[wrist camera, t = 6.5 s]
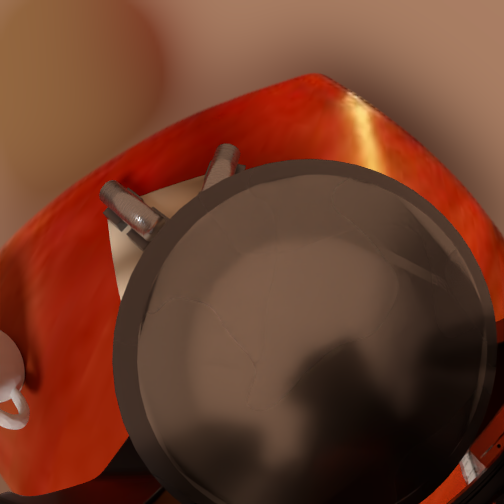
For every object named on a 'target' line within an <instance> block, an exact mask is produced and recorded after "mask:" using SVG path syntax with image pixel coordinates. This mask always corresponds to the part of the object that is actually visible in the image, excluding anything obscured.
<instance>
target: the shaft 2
mask: <svg viewBox="0 0 504 504" xmlns="http://www.w3.org/2000/svg"><path fill="white" fill-rule="evenodd" d="M239 158H240V151H239V149H238V148H237V147H235V146H234V145H231V144H221V145H219V146H218V147H217V149H216V152H215V154H214V157H213V160H212V161H210V163H209V166H208V169H207V171H206V174H205V177H204V184H203V187H202V189H201V191H199V193H198V194H200V193H201V192H203V191H204V190H206V189H208V188H209V187H211V186H213V185H214V184H216V183H218V182H220V181H221V180H223V179H226V178H228V177H230V176H232V175H235V174H237V173H240V172H242V171H244V170H246V165H240V164H238V161H239Z"/></svg>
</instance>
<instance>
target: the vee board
mask: <svg viewBox="0 0 504 504" xmlns="http://www.w3.org/2000/svg"><path fill="white" fill-rule="evenodd" d="M204 177H205V175H203V176H199V177H196V178H193V179H190V180H186V181H183V182H180V183H177V184H174V185H171V186H168V187H165V188H162V189H159V190H157V191H154V192H151V193H148V194H145V195H143V196H140V197H141V198H142V199H143V201H144V203H146V204H147V205H148V206H149V207H151V208H152V207H154V208H156V209H157V210H158V211H160V212H161V213H162V214H164V215H165V216H166V217H168V218H169V219H170V218H171V217H172V216H173V215H174V214H175V213H176V212H177V211H178V210H179V209H180V208H182V207H183V206H184V205H185V204H187V203H188V202H189V201H191V200H192V199H193V198H194V197H196V196H197V195H198V193H199V191H201V189H202V187H203V184H204ZM108 227H109V235H110V243H111V250H112V256H113V262H114V268H115V274H116V279H117V284H118V289H119V294H120V299H121V300H122V297H123V294H124V292H125V289H126V286H127V284H128V281H129V279H130V276H131V274H132V272H133V270H134V268H135V266H136V265H137V263H138V261H139V259H140V257H141V256H142V254H143V251H142V250H141V249H140V248H138V247H137V246H136V245H135V244H134V243H133V242H132V241H131V240H130V239H129V237H128V236H127V235H126V234H127V233H128V232H129V231H130V230H131V227H130V226H129V225H128V226H127V227H126V228H125V229H124V230H123V231H122V232H121V231H120V230H118V229H117V228H116V227H115V226H114V225H113V224H112V223H111V222H110V221H109V220H108Z"/></svg>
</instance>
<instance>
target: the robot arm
mask: <svg viewBox="0 0 504 504" xmlns="http://www.w3.org/2000/svg"><path fill="white" fill-rule="evenodd" d="M496 330H497V363H496V373H495V379H494V385H493V390H492V394H491V398H490V401H489V404H488V408H487V411H486V414H485V417H484V419H483V421H482V424H481V426H480V428H479V430H478V432H477V435H476V437H475V439H474V440H473V442H472V444H471V445H470V447H469V449H468V450H467V452H466V454H467V453H468V452H469V451H471V453H472V454H473V455H474V456H475V457H476V458H477V459H478V460H479V462H480V463H482V464H483V465H484V466H485V467H486V468H485V469H484V470H483V471H482V472H481V473H480V474H479V475H478V476H477V477H476V478H475V479H474V480H473V481H472V482H471V483H469V484H468V485H467V486H466V487H465V488H464V489H463V490H462V491H461V492H460V493H458V494H457V495H456V496H455V497H454V498H453V499H451V500H450V501H449V502H448V503H447V504H504V319H502V320H500V321H497V322H496ZM466 454H465V455H466ZM465 455H464V456H465ZM0 504H181V503H180V502H179V501H177V500H176V499H175V498H174V497H173V496H172V495H171V494H170V493H169V492H168V491H167V490H166V489H165V488H164V487H163V486H162V485H161V484H160V483H159V482H158V481H157V479H156V478H155V477H154V476H153V475H152V474H151V472H150V471H149V469H148V468H147V466H146V465H145V463H144V462H143V460H142V459H141V457H140V456H139V454H138V453H137V451H136V449H135V447H134V445H133V443H132V441H131V439H130V436H129V437H128V438H127V440H126V441H125V443H124V444H123V445H122V447H121V448H120V449H119V451H118V452H117V453H116V455H115V456H114V457H113V459H112V460H111V462H110V463H109V464H108V466H107V467H106V468H105V469H104V471H103V472H102V473H101V474H100V475H99V476H97V477H96V478H95V479H93V480H91V481H88V482H86V483H83V484H80V485H76V486H73V487H70V488H67V489H63V490H59V491H56V492H52V493H48V494H44V495H38V496H22V495H18V494H15V493H13V492H5V493H1V494H0Z"/></svg>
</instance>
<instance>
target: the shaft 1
mask: <svg viewBox="0 0 504 504" xmlns="http://www.w3.org/2000/svg"><path fill="white" fill-rule="evenodd" d="M100 200H101V201H102V202H103V203H104V204H105V205H106V206H107V207H108V208H107V209H106V210H105V211H104V212H103V214H104V215H105V216H106V218H107V219H108V220H109V221H110V222H111V223H112V224H113V225H114V226H115V227H116V228H117V229H118V230H120V231H121V232H122V231H123V230H124V229H125V228H126V227H127V226H128V225H129V226H130V227H131V230H130V231H129V232H128V233H127V234H126V235H127V236H128V237H129V239H130V240H131V241H132V242H133V243H134V244H135V245H136V246H137V247H138V248H140V249H141V250H142V251H143V252H144V250H145V249H146V247H147V246H148V245H149V243H150V242H151V241H152V239H153V238H154V237H155V235H156V234H157V233H158V231H159V230H160V229H161V228H162V226H163V225H164V224H165V223H166V222H167V221H168V220H169V218H168V217H166V216H165V215H164V214H162V213H161V212H160V211H158V210H157V209H156V208H154V207H152V208H151V207H149V206H148V205H147V204H146V203H144V201H143V199H142V198H141V197H140V196H139V195H137V194H136V193H135V192H133V191H132V190H131V189H129V188H127V189H126V188H125V187H123V186H122V185H121V184H120V183H118V182H117V181H115V180H111V181H109V182H107V183H106V184H105V185H104V186H103V187H102V189H101V191H100Z"/></svg>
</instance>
